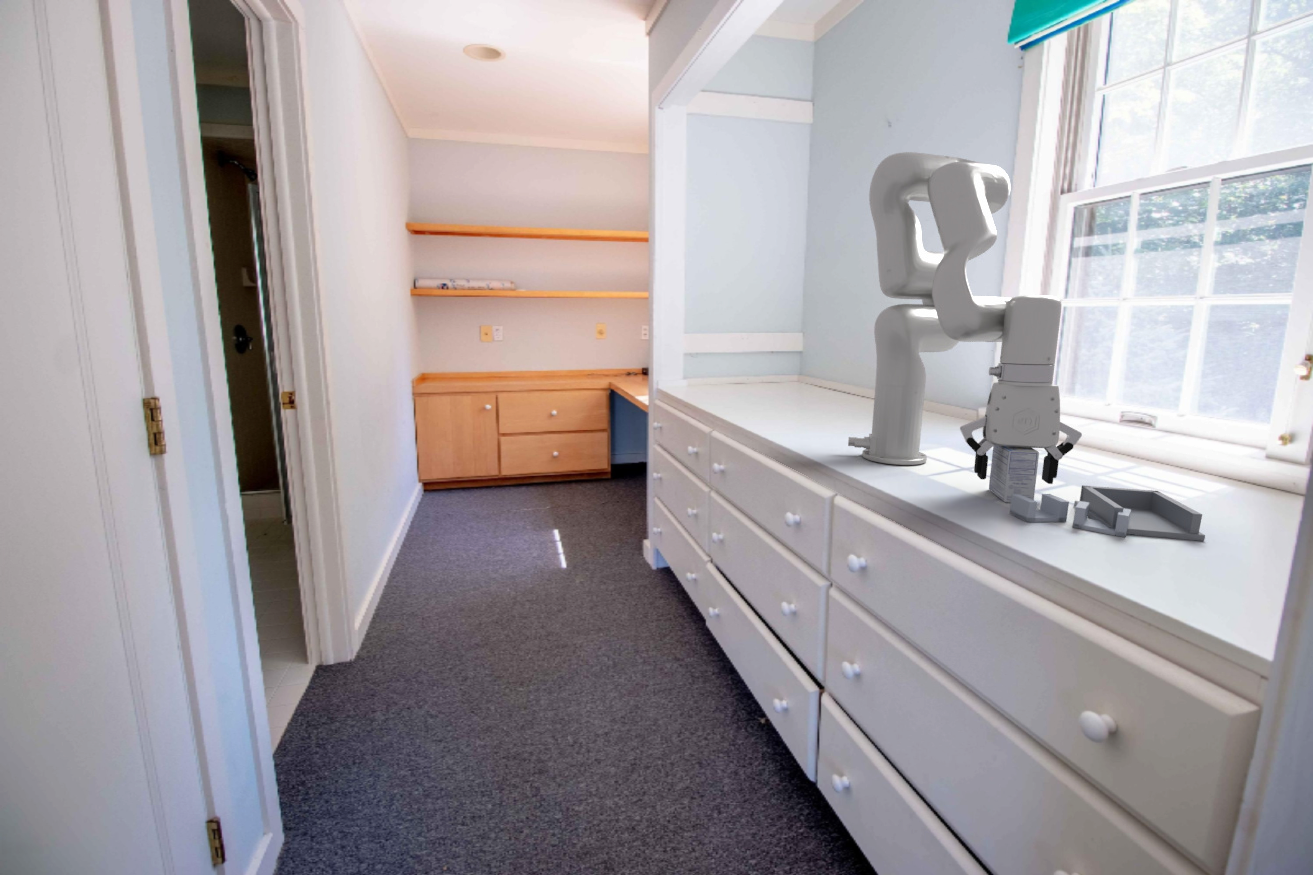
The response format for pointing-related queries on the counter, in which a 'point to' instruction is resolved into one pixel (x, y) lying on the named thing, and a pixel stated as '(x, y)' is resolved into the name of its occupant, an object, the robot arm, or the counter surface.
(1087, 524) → the clip
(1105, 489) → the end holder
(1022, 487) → the medicine box
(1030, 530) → the counter surface
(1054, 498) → the clip
